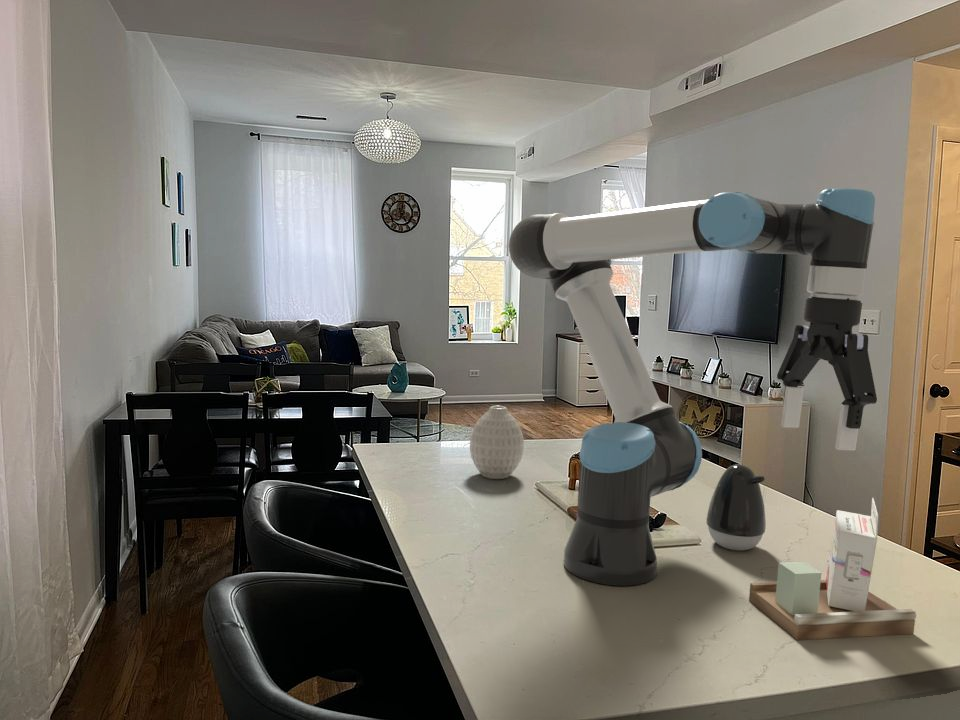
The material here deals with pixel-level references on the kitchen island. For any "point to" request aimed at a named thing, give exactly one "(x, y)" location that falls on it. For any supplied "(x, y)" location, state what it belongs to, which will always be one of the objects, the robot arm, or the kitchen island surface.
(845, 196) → the robot arm
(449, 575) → the kitchen island surface
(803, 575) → the pale green block
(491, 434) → the vase
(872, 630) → the brown wooden tray
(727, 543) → the pump dispenser
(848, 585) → the ink cartridge box
